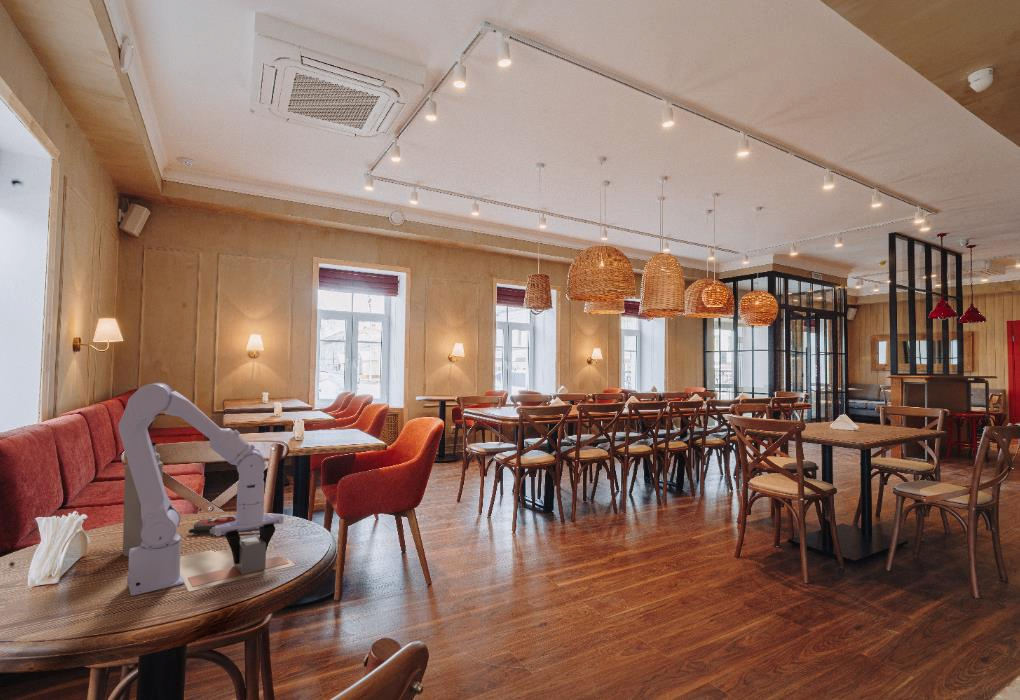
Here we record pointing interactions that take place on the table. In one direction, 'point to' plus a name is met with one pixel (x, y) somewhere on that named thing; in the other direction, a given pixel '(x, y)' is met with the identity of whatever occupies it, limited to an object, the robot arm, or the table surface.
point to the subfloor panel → (219, 568)
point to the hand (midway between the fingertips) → (249, 559)
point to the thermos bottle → (133, 509)
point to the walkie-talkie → (209, 525)
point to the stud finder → (251, 554)
